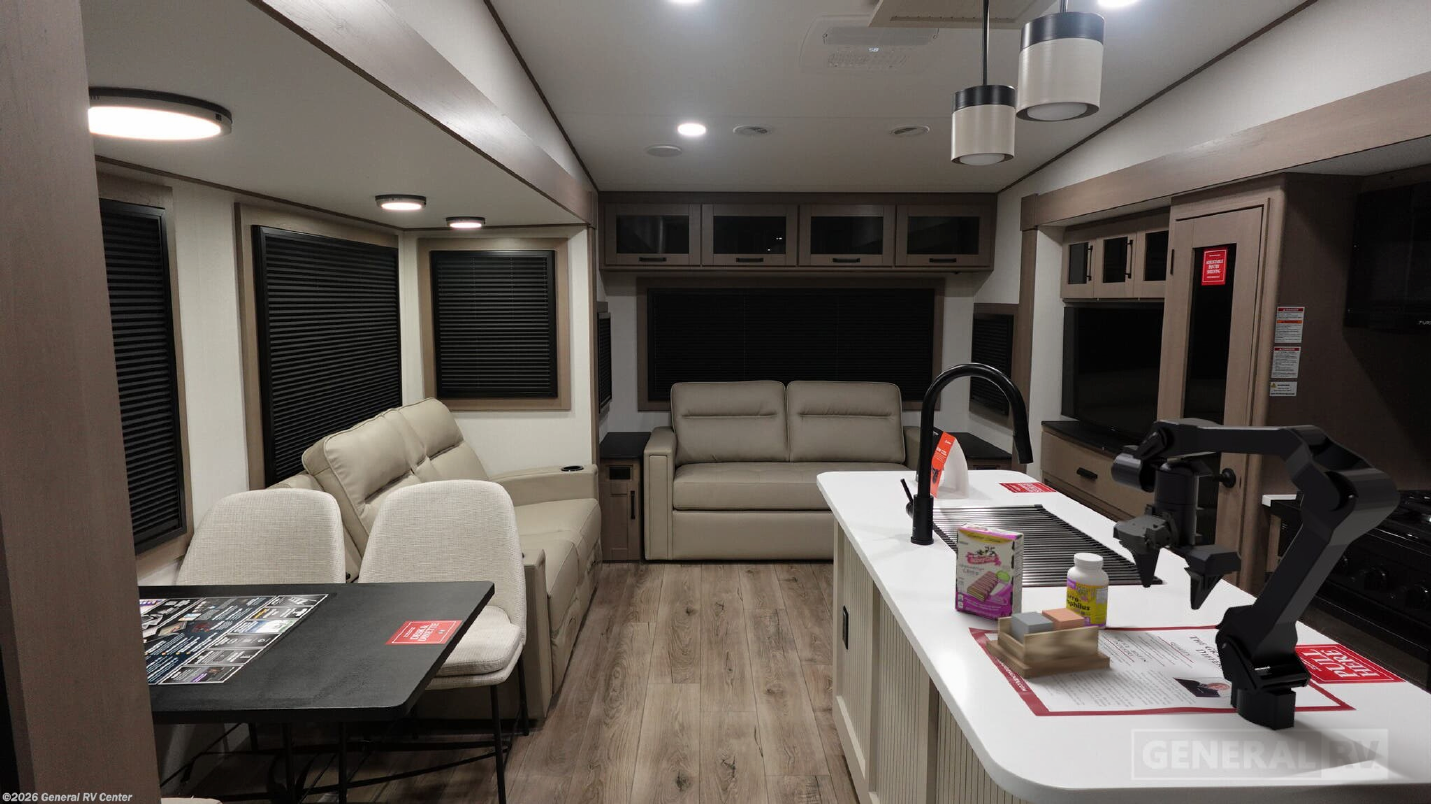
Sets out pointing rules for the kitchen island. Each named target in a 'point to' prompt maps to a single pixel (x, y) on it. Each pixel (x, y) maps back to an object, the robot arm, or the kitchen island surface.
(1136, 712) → the kitchen island surface
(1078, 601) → the supplement bottle
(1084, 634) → the wooden tray
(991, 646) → the plate
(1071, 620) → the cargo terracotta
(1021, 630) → the block
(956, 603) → the candy bar box
